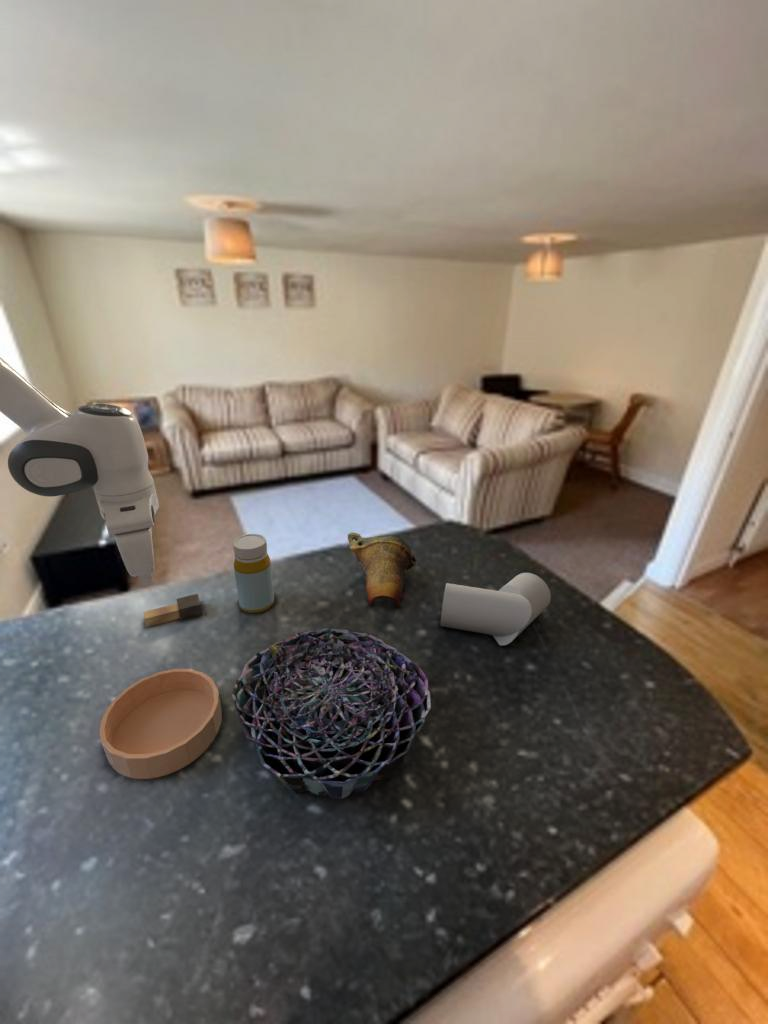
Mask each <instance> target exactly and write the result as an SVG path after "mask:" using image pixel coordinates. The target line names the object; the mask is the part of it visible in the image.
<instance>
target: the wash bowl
mask: <svg viewBox="0 0 768 1024" xmlns="http://www.w3.org/2000/svg"><path fill="white" fill-rule="evenodd" d="M222 713H223V712H222V704H221V698H220V694H219V689H218V687H217V685H216V683H215V682H214V679H213V678H211V677H210V676H209V675H207V674H206V673H205V672H202V671H199V670H195V669H192V668H172V669H167V670H163V671H158V672H155V673H153V674H150V675H148V676H146V677H143V678H141V679H138V680H137V681H136V682H134V683H132V684H131V685H129V686H128V687H126V688H125V689H124V690H123V691H121V692H120V694H118V696H116V697H115V699H113V700H112V701H111V703H110V704H109V705H108V707H107V708H106V710H105V712H104V713H103V715H102V717H101V722H100V725H99V729H98V733H99V737H100V738H99V739H100V742H101V745H102V748H103V751H104V753H105V757H106V759H107V762H108V764H109V765H110V766H111V767H112V769H113V770H114V771H116V772H117V773H118V774H120V775H122V776H124V777H126V778H131V779H135V780H148V779H149V780H151V779H156V778H160V777H164V776H168V775H170V774H173V773H176V772H177V771H179V770H181V769H183V768H185V767H186V766H188V765H190V764H192V763H193V762H194V761H195V760H197V759H198V758H199V757H201V755H203V753H205V752H206V750H207V749H208V748H209V747H210V746H211V745H212V743H213V742H214V740H215V738H216V737H217V736H218V733H219V731H220V728H221V725H222V721H223V720H222V719H223V716H222Z"/></svg>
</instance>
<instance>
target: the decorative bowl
mask: <svg viewBox="0 0 768 1024" xmlns="http://www.w3.org/2000/svg"><path fill="white" fill-rule="evenodd" d="M231 697H232V701H233V702H234V704H235V709H234V711H235V714H237V716H238V718H239V719H240V720H239V723H240V726H241V727H242V730H243V732H244V734H245V737H246V739H247V740H250V741H251V742H253V743H254V744H255V750H256V754H257V756H258V759H259V761H260V764H261V766H263V767H264V768H266V769H268V771H270V772H272V773H273V774H274V775H275V776H276V778H278V780H279V781H280V782H281V783H282V784H283V785H284V786H285V788H286V789H288V790H289V791H291V792H292V793H294V794H299V793H306V792H308V791H309V793H311V794H312V795H316V796H328V797H330V798H331V799H341V800H342V799H345V798H349V796H350V795H351V794H352V793H354V794H357V793H362V792H365V791H366V790H367V789H368V788H369V787H370V786H371V785H372V784H373V782H381V781H383V780H384V779H385V778H388V776H389V775H390V774H391V772H392V770H393V769H394V768H395V766H396V765H397V763H398V762H399V760H400V759H401V757H402V756H404V755H406V754H407V753H409V750H410V749H411V747H412V745H413V742H414V741H415V738H416V735H417V734H418V733H419V732H420V730H421V729H422V728H423V727H424V726H425V718H426V716H427V715H428V713H429V711H430V710H431V708H432V706H431V692H430V690H429V678H428V676H427V675H426V674H425V673H424V671H423V670H422V668H421V667H420V666H418V665H417V664H415V662H412V660H411V659H410V658H408V657H407V656H406V655H404V653H402V652H400V651H399V650H398V649H397V648H395V647H393V646H391V645H389V644H387V643H385V642H384V641H383V640H382V639H381V638H379V637H376V636H374V635H372V634H370V633H367V632H357V631H353V630H351V629H340V628H330V627H326V628H322V629H317V630H306V631H300V632H297V633H296V634H294V635H291V636H288V637H286V638H283V639H281V640H278V641H276V642H273V644H272V645H270V646H269V647H267V648H266V649H263V650H260V651H259V652H257V653H256V654H255V655H253V656H252V657H251V658H250V659H249V660H248V661H247V662H246V663H245V664H244V666H243V669H242V672H241V675H240V676H239V677H238V678H237V679H236V681H235V684H234V688H233V691H232V694H231ZM350 773H355V774H350Z"/></svg>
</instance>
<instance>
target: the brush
mask: <svg viewBox="0 0 768 1024" xmlns="http://www.w3.org/2000/svg"><path fill="white" fill-rule="evenodd" d="M203 615H204V614H203V609H202V604H201V600H200V597H199V593H194V594H190V595H187V596H182V597H178V598H176V603H174V604H170V605H165V606H162V607H157V608H153V609H151V610H146V611H143V618H144V623H145V627H146V628H149V627H153V626H156V625H157V626H158V625H160V624H164V623H168V622H172V621H176V620H180V621H185V620H189V619H193V618H197V617H200V616H203Z"/></svg>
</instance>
